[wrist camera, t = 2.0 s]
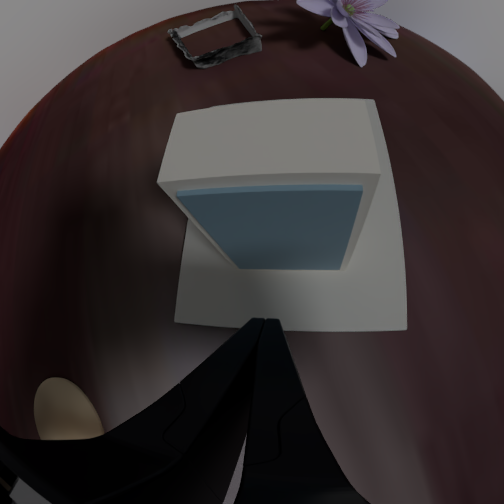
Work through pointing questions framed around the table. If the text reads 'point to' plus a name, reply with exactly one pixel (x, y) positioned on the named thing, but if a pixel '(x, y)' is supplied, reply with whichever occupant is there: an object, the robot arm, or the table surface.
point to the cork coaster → (64, 412)
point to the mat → (306, 275)
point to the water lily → (356, 23)
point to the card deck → (275, 180)
